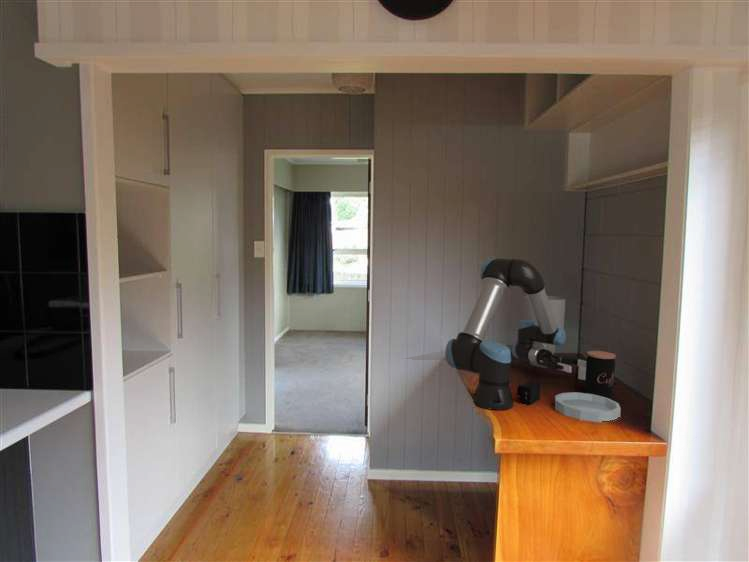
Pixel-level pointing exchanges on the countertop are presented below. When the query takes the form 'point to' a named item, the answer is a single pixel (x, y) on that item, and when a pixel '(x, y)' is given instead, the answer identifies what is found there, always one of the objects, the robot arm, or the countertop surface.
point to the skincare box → (582, 373)
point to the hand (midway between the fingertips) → (581, 367)
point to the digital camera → (529, 392)
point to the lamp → (558, 313)
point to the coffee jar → (600, 373)
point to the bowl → (587, 407)
